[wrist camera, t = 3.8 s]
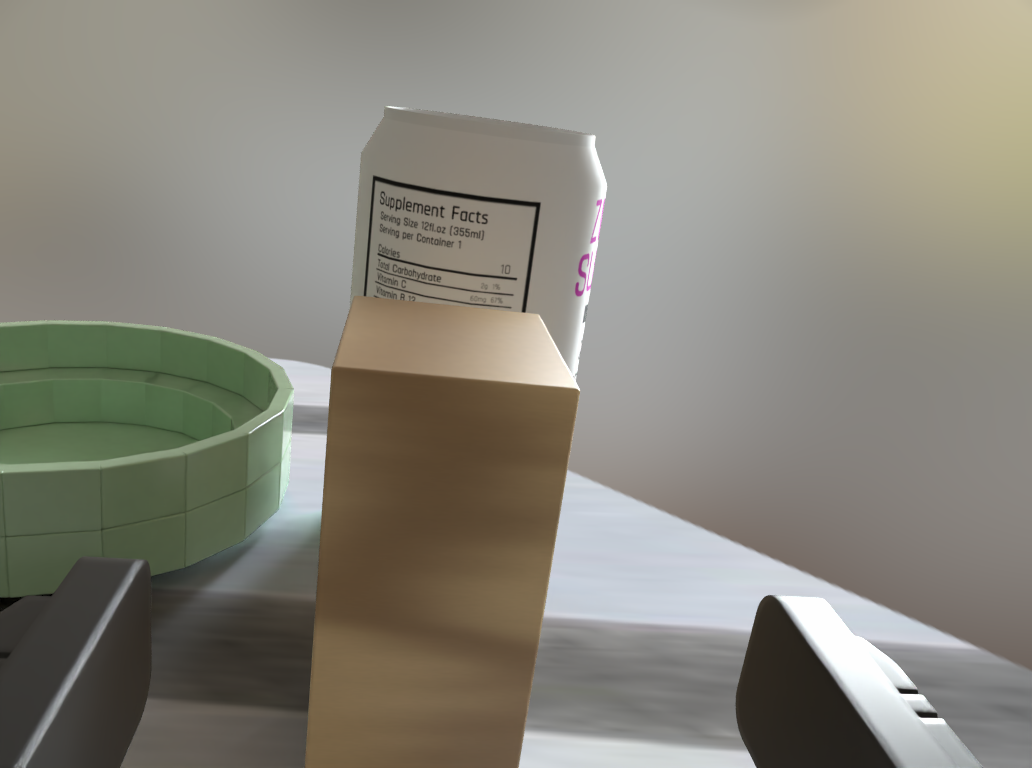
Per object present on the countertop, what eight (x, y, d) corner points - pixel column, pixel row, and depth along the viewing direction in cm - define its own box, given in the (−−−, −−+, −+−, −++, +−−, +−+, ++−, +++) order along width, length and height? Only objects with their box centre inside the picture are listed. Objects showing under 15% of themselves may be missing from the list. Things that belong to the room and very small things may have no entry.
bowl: (258, 414, 41) (261, 323, 40) (320, 584, 28) (329, 458, 27) (-130, 423, 35) (-141, 316, 33) (-282, 647, 22) (-311, 487, 20)
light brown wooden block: (484, 694, 24) (539, 313, 20) (503, 861, 19) (581, 389, 15) (324, 689, 23) (353, 294, 20) (298, 860, 18) (331, 366, 15)
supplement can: (303, 493, 34) (328, 97, 29) (483, 469, 38) (528, 122, 34) (387, 601, 28) (435, 117, 23) (590, 558, 32) (665, 145, 27)
